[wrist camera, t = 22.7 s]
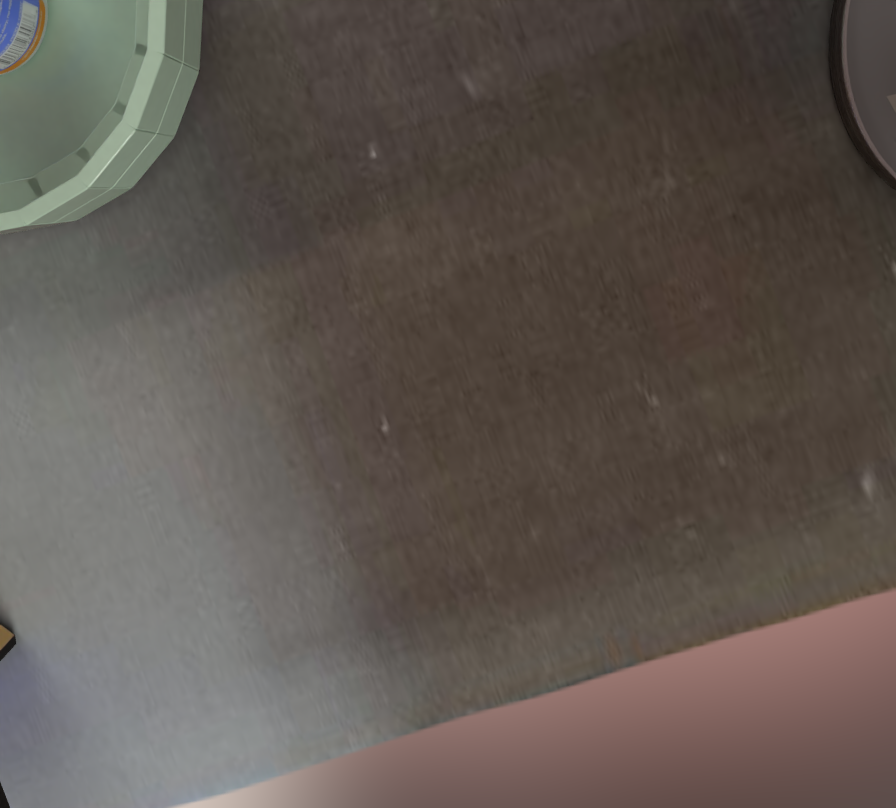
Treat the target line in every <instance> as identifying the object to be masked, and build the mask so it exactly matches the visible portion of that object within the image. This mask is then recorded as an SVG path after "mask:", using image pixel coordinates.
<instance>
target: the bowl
mask: <svg viewBox="0 0 896 808" xmlns="http://www.w3.org/2000/svg"><path fill="white" fill-rule="evenodd" d="M47 4H48V21H47V27H46V31H45V35H44V38H43V40H42V43H41V45H40V47H39V49H38V50H37V52H36V53H35V54H34V56H33V57H32V58H31V59H30V60H29V61H28V62H27V63H26V64H24V65H23V66H21V67H20V68H18V69H16V70H14V71H12V72H9V73H6V74H3V75H0V235H1V234H10V233H16V232H22V231H27V230H32V229H37V228H42V227H47V226H53V225H58V224H63V223H68V222H73V221H76V220H79V219H81V218H82V217H84V216H86V215H87V214H89V213H91V212H92V211H94V210H96V209H98V208H99V207H101V206H103V205H104V204H106V203H108V202H109V201H111V200H113V199H115V198H116V197H118V196H120V195H121V194H123V193H125V192H126V191H128V190H130V189H131V188H132V187H134V185H135V184H136V183H137V182H138V181H139V179H140V178H141V177H142V176H143V175H144V173H145V172H146V171H147V170H148V168H149V167H150V166H151V165H152V164H153V162H154V161H155V160H156V159H157V158H158V156H159V155H160V154H161V153H162V152H163V150H164V149H165V148H166V147H167V146H168V144H169V143H170V142H171V141H172V140H173V138H174V136H175V135H176V132H177V129H178V127H179V124H180V121H181V119H182V116H183V113H184V111H185V108H186V105H187V103H188V100H189V97H190V95H191V92H192V89H193V87H194V84H195V81H196V79H197V76H198V73H199V71H198V70H199V69H200V50H201V30H202V11H203V0H47Z"/></svg>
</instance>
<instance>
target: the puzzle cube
mask: <svg viewBox="0 0 896 808" xmlns="http://www.w3.org/2000/svg"><path fill="white" fill-rule="evenodd" d="M15 644H16V639H15V635H14V634H13V633H11V632H10V631H9V630H8V629H6V628H5V627H4V626H2V625H1V624H0V661H1V660H2V659H3V658H4V657H5V655H6V654H7V653H8V652H9V651H10V650H11V649H12V648H13V647H14V645H15Z"/></svg>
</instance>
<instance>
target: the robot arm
mask: <svg viewBox="0 0 896 808" xmlns="http://www.w3.org/2000/svg"><path fill="white" fill-rule="evenodd" d="M829 61H830V70H831V80H832V85H833V89H834V94H835V99H836V102H837V105H838V109H839V112H840V115H841V118H842V120H843V122H844V125H845V127H846V129H847V132H848V134H849V136H850V137H851V139H852V141H853V143H854V145H855V146H856V148H857V150H858V151H859V152H860V154H861V155H862V157H863V158H864V159H865V161H866V162H867V164H868V165H869V166H870V167H871V168H872V169H873V170H874V171H875V172H876V174H877V175H878V176H879V177H880V178H881V179H883V180H884V181H885V182H886V183H887V184H888V185H889V186H890V187H892V188H893V189H894V190H896V0H834V4H833V10H832V16H831V24H830V36H829ZM0 808H10V806H9V804H8V801H7V799H6V796H5V793H4V791H3V788H2V786H1V783H0Z"/></svg>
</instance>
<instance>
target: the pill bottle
mask: <svg viewBox="0 0 896 808" xmlns="http://www.w3.org/2000/svg"><path fill="white" fill-rule="evenodd" d="M47 21H48V4H47V0H0V75H3V74H6V73H9V72H12V71H14V70H16V69H18V68H20V67H21V66H23V65H24V64H26V63H27V62H28V61H29V60H30V59H31V58H32V57H33V56H34V54H35V53H36V52H37V50H38V49H39V47H40V45H41V43H42V40H43V38H44V35H45V31H46V27H47Z"/></svg>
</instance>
